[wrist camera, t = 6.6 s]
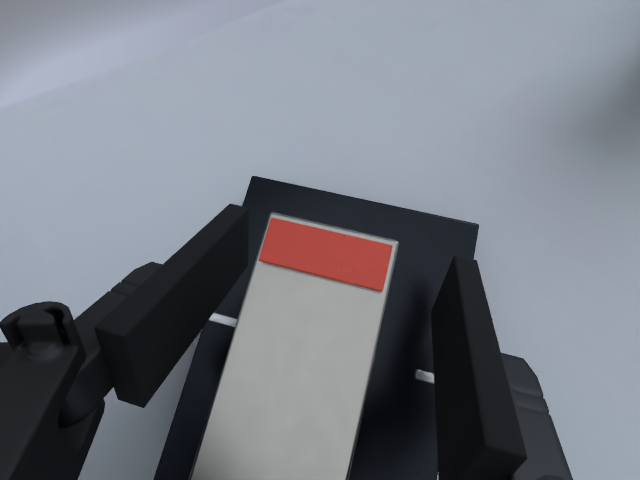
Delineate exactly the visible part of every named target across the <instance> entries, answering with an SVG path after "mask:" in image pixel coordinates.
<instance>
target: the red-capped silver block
mask: <svg viewBox="0 0 640 480" xmlns="http://www.w3.org/2000/svg"><path fill="white" fill-rule="evenodd" d="M398 248H399V242H398V241H397V240H393V239H389V238H384V237H380V236H375V235H371V234H367V233H362V232H358V231H354V230H349V229H345V228H340V227H336V226H332V225H327V224H323V223H319V222H314V221H310V220H306V219H301V218H297V217H292V216H288V215H284V214H279V213H275V212H271V213H270V214H269V217H268V221H267V224H266V227H265V231H264V234H263V237H262V240H261V244H260V247H259V250H258V253H257V257H256V260H255V263H254V267H253V270H252V273H251V276H250V280H249V283H248V286H247V290H246V293H245V296H244V299H243V303H242V306H241V309H240V312H239V316H238V319H237V322H236V326H235V329H234V332H233V335H232V339H231V342H230V345H229V348H228V352H227V355H226V358H225V362H224V365H223V368H222V371H221V375H220V378H219V381H218V385H217V388H216V391H215V394H214V398H213V401H212V404H211V407H210V411H209V414H208V417H207V421H206V424H205V427H204V430H203V434H202V437H201V440H200V444H199V447H198V450H197V453H196V457H195V460H194V463H193V466H192V470H191V473H190V476H189V480H349V475H350V470H351V466H352V461H353V456H354V452H355V447H356V443H357V438H358V433H359V429H360V424H361V419H362V415H363V410H364V405H365V401H366V396H367V392H368V387H369V382H370V378H371V373H372V368H373V364H374V359H375V355H376V350H377V345H378V341H379V336H380V331H381V327H382V322H383V317H384V313H385V308H386V304H387V299H388V294H389V290H390V285H391V280H392V276H393V271H394V267H395V262H396V257H397V253H398Z"/></svg>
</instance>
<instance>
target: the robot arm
mask: <svg viewBox="0 0 640 480" xmlns="http://www.w3.org/2000/svg"><path fill="white" fill-rule="evenodd" d="M248 237H249V208H247V207H242V206H238V205H234V204H229V205H228V206H227V207H226V208H225V209H224V210H223V211H221V212H220V213H219V214H218V215H217V216H216V217H215V218H214V219H213V220H212V221H210V222H209V223H208V224H207V225H206V226H205V227H204V228H203V229H202V230H200V231H199V232H198V233H197V234H196V235H195V236H194V237H193V238H192V239H191V240H189V241H188V242H187V243H186V244H185V245H184V246H183V247H182V248H181V249H179V250H178V251H177V252H176V253H175V254H174V255H173V256H172V257H171V258H169V259H168V260H167V261H166V262H165V263H164V264H163V265H162V264H158V263H155V262H150V263H148V264H146V265H143V266H141V267H139V268H137V269H135V270H134V271H132V272H131V273H130V274H129V275H128V276H126V277H125V278H124V279H123V280H122V282H121V283H120V282H119V283H118V284H117V285H116V286H114V287H113V288H112V289H111V291H110V292H109V291H108V292H107V293H106V294H105V295H104V296H102V297H101V298H100V299H99V300H98V301H96V302H95V303H94V304H93V305H92V306H90V307H89V308H88V309H87V310H85V311H84V312H83V313H82V314H81V315H79V316H78V317H77V318H76V319H75V320H73V317H72V315H71V312H70V310H69V307H67V306H66V305H64V304H62V303H59V302H50V301H49V302H41V303H35V304H32V305H28V306H25V307H22V308H20V309H18V310H16V311H15V312H13V313H11V314H9V315H8V316H6V317H5V318H4V319H3V320H2V321H1V322H0V328H1V330H2V332H3V334H4V335H5V337H6V339H7V341H8V342H0V480H78V477H79V475H80V472H81V469H82V467H83V464H84V462H85V459H86V457H87V454H88V451H89V449H90V446H91V444H92V441H93V439H94V436H95V433H96V431H97V428H98V426H99V423H100V421H101V418H102V415H103V413H104V408H105V402H104V399H103V398H104V397H105V396H106V395H107V394H108V392H109V391H110V390H111V389H112V388H113V387H114V389H115V392H116V395H117V398H118V400H121V401H124V402H127V403H130V404H133V405H136V406H139V407H142V408H144V407H145V406H146V404H147V403H148V402H149V400H150V399H151V398H152V396H153V395H154V394H155V392H156V391H157V389H158V388H159V387H160V385H161V384H162V383H163V381H164V380H165V379H166V377H167V376H168V374H169V373H170V372H171V370H172V369H173V368H174V366H175V365H176V364H177V362H178V361H179V359H180V358H181V357H182V355H183V354H184V353H185V351H186V350H187V348H188V347H189V346H190V344H191V343H192V342H193V340H194V339H195V338H196V336H197V335H198V333H199V332H200V331H201V329H202V328H203V327H204V325H205V324H206V323H207V321H208V320H209V318H210V317H211V316H212V314H213V313H214V312H215V310H216V309H217V308H218V306H219V305H220V303H221V302H222V301H223V299H224V298H225V297H226V295H227V294H228V292H229V291H230V290H231V288H232V287H233V286H234V284H235V283H236V282H237V280H238V279H239V277H240V276H241V275H242V273H243V272H244V271H245V269H246V268H247V267H248ZM431 326H432V347H433V368H434V389H435V411H436V432H437V453H438V475H439V480H573V478H572V476H571V473H570V470H569V467H568V464H567V461H566V459H565V456H564V453H563V450H562V447H561V444H560V441H559V438H558V436H557V433H556V430H555V427H554V424H553V421H552V418H551V415H549V414H548V413H549V410H548V407H547V404H546V401H545V399H543V396H544V395H543V392H542V390H541V387H540V384H539V381H538V378H537V376H536V375H535V373H534V372H533V371H532V369H531V368H530V367H529V365H528V364H527V363H526V361H525V360H524V359H523V358H519V357H515V356H511V355H508V354H504V353H501V352H500V349H499V345H498V341H497V337H496V333H495V329H494V325H493V322H492V318H491V314H490V310H489V306H488V302H487V299H486V295H485V291H484V287H483V283H482V279H481V275H480V272H479V268H478V264H477V260H473V259H469V258H464V257H460V256H456V255H454V256H453V259H452V261H451V264H450V266H449V269H448V271H447V274H446V276H445V279H444V281H443V283H442V286H441V288H440V291H439V293H438V296H437V298H436V301H435V303H434V306H433V308H432V310H431Z"/></svg>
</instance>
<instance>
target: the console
mask: <svg viewBox="0 0 640 480" xmlns="http://www.w3.org/2000/svg"><path fill="white" fill-rule="evenodd" d="M242 207H247V208H249V237H248V267H247V268H246V269H245V271H244V272H243V273H242V275H241V276H240V277H239V279H238V280H237V282H236V283H235V284H234V286H233V287H232V288H231V290H230V291H229V292H228V294H227V295H226V297H225V298H224V299H223V301H222V302H221V303H220V305H219V306H218V308H217V309H216V310H215V312H214V313H213V314H212V316H211V317H210V318H209V320H208V321H207V323H206V324H205V325H204V327H203V329H202V332H201V335H200V338H199V341H198V344H197V347H196V350H195V353H194V356H193V360H192V363H191V366H190V369H189V372H188V375H187V378H186V381H185V384H184V387H183V390H182V393H181V397H180V400H179V403H178V406H177V409H176V412H175V415H174V418H173V421H172V424H171V427H170V430H169V433H168V437H167V440H166V443H165V446H164V449H163V452H162V455H161V458H160V461H159V464H158V467H157V470H156V474H155V477H154V480H189V476H190V473H191V470H192V466H193V463H194V460H195V457H196V453H197V450H198V447H199V444H200V440H201V437H202V434H203V430H204V427H205V424H206V421H207V417H208V414H209V411H210V407H211V404H212V401H213V398H214V394H215V391H216V388H217V385H218V381H219V378H220V375H221V371H222V368H223V365H224V362H225V358H226V355H227V352H228V348H229V345H230V342H231V339H232V335H233V332H234V329H235V326H236V322H237V319H238V316H239V312H240V309H241V306H242V303H243V299H244V296H245V293H246V290H247V286H248V283H249V280H250V276H251V273H252V270H253V267H254V263H255V260H256V257H257V253H258V250H259V247H260V244H261V240H262V237H263V234H264V231H265V227H266V224H267V221H268V217H269V214H270V213H271V212H275V213H279V214H284V215H288V216H292V217H297V218H301V219H306V220H310V221H314V222H319V223H323V224H327V225H332V226H336V227H340V228H345V229H349V230H354V231H358V232H362V233H367V234H371V235H375V236H380V237H384V238H389V239H393V240H397V241H398V242H399V248H398V253H397V257H396V262H395V267H394V271H393V276H392V280H391V285H390V290H389V294H388V299H387V304H386V308H385V313H384V317H383V322H382V327H381V331H380V336H379V341H378V345H377V350H376V355H375V359H374V364H373V368H372V373H371V378H370V382H369V387H368V392H367V396H366V401H365V405H364V410H363V415H362V419H361V424H360V429H359V433H358V438H357V443H356V447H355V452H354V456H353V461H352V466H351V470H350V475H349V480H437V475H438V453H437V432H436V411H435V389H434V368H433V347H432V326H431V310H432V308H433V306H434V303H435V301H436V298H437V296H438V293H439V291H440V288H441V286H442V283H443V281H444V279H445V276H446V274H447V271H448V269H449V266H450V264H451V261H452V259H453V256H454V255H456V256H460V257H464V258H469V259H474V253H475V247H476V241H477V235H478V229H479V225H478V224H475V223H471V222H466V221H461V220H457V219H452V218H447V217H443V216H438V215H433V214H429V213H424V212H419V211H415V210H410V209H405V208H401V207H396V206H391V205H387V204H382V203H378V202H373V201H368V200H364V199H359V198H354V197H350V196H345V195H340V194H336V193H331V192H326V191H322V190H317V189H312V188H308V187H303V186H298V185H294V184H289V183H284V182H280V181H275V180H271V179H266V178H261V177H257V176H252V178H251V181H250V184H249V187H248V190H247V193H246V196H245V199H244V202H243V206H242Z"/></svg>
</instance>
